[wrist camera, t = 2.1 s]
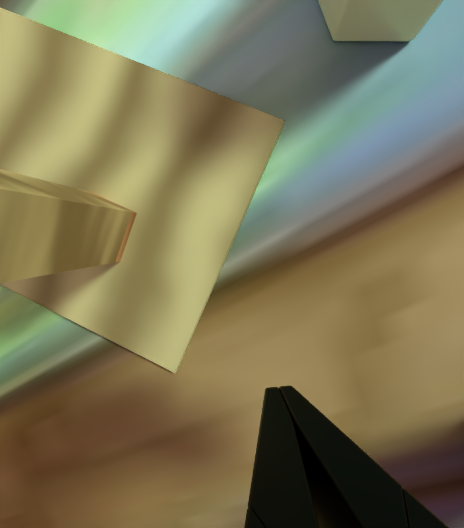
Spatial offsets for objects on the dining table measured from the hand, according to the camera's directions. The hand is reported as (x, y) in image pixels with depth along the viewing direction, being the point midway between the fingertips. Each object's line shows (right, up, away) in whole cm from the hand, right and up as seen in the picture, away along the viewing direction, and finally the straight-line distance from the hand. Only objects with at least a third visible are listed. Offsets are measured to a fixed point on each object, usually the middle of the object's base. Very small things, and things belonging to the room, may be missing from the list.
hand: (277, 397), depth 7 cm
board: (-13, +10, +11) cm, 19 cm away
